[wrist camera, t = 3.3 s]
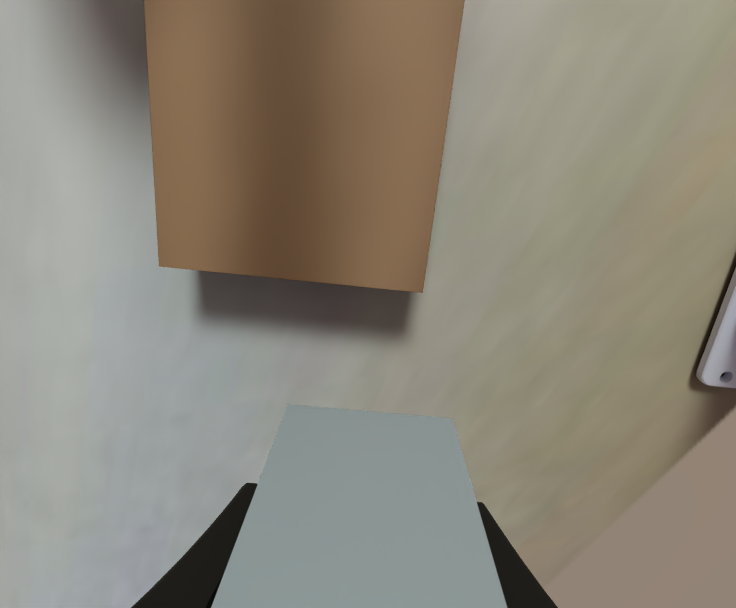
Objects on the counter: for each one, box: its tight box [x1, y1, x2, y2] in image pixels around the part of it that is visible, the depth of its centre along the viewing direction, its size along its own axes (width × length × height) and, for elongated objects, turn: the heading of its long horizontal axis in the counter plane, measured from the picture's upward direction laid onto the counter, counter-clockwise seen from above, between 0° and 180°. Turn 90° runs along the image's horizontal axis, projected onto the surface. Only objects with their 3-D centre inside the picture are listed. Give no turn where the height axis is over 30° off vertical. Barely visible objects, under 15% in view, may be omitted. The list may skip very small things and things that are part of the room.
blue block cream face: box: [211, 404, 507, 608], centre depth 9 cm, size 5×5×6 cm
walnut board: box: [144, 0, 465, 293], centre depth 14 cm, size 9×9×3 cm
